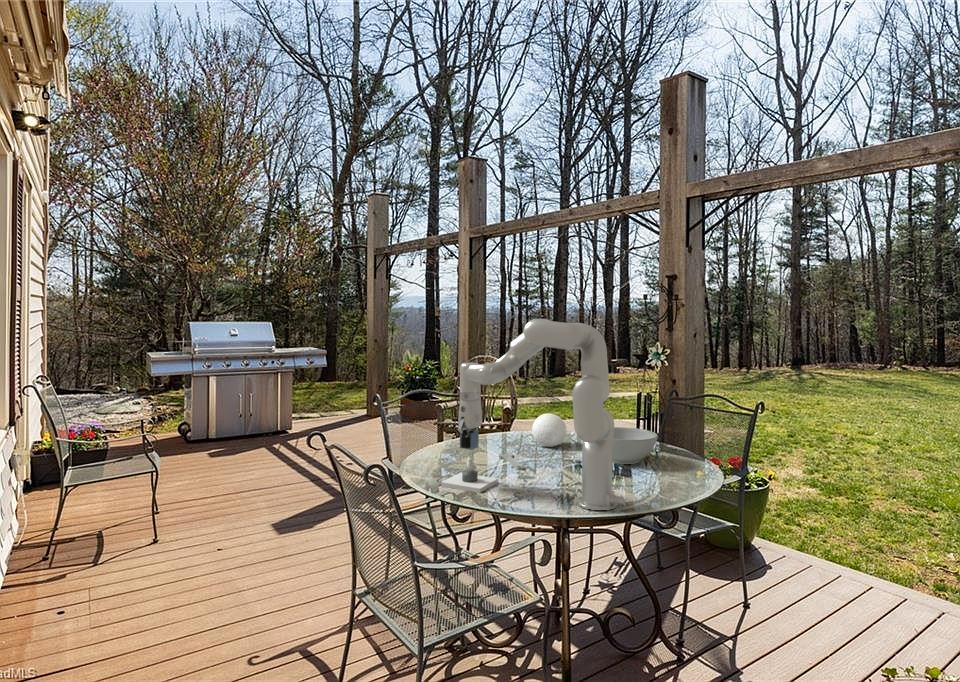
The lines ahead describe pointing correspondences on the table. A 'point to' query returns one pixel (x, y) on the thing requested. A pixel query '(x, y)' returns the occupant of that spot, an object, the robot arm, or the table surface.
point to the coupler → (472, 439)
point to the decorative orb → (549, 430)
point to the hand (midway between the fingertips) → (469, 445)
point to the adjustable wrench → (511, 460)
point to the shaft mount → (469, 480)
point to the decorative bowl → (632, 444)
